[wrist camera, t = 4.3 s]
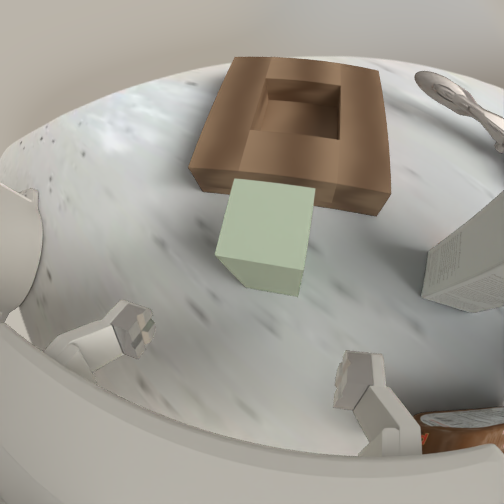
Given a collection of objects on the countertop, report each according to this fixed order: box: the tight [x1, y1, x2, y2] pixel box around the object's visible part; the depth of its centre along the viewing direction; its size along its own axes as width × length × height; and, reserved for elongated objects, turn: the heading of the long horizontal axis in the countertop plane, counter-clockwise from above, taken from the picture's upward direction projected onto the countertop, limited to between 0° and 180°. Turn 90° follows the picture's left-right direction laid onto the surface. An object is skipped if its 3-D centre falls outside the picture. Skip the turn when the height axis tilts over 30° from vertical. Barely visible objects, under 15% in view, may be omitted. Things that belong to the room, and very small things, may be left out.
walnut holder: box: [188, 57, 391, 216], centre depth 23 cm, size 15×15×4 cm
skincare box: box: [421, 190, 504, 313], centre depth 13 cm, size 6×4×12 cm
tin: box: [413, 407, 504, 454], centre depth 11 cm, size 15×3×8 cm, turn 77°
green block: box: [215, 178, 315, 297], centre depth 17 cm, size 4×4×9 cm
